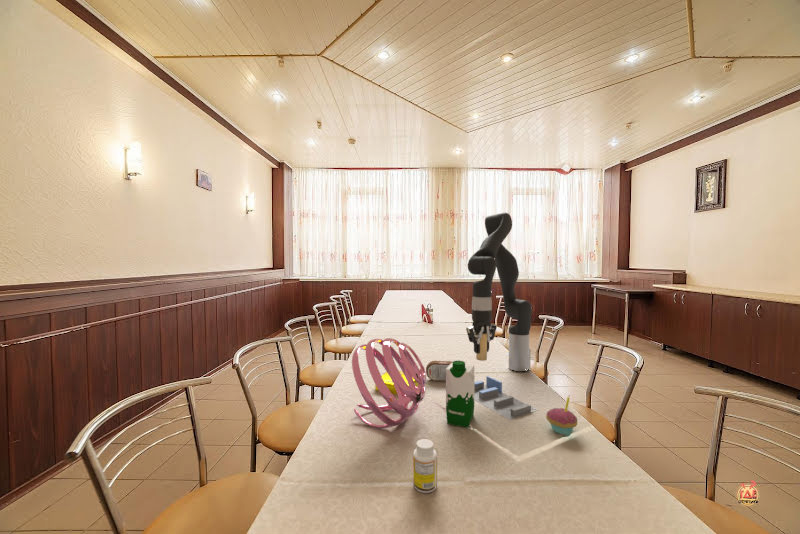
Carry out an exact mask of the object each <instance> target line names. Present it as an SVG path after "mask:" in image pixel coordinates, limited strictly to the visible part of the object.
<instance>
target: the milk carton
mask: <svg viewBox="0 0 800 534" xmlns="http://www.w3.org/2000/svg"><path fill="white" fill-rule="evenodd" d="M474 382H475V364H468V363H466V362H465V361H464V360H454V361H452V363H451V364H450V365H449V366H448V367H447V368H446V381H445V413H446V424H449V425H453V426H457V427H462V428H466V429H468V428H469V427H470V425H471V422H472V419H473V417H474V413H475V400H474Z"/></svg>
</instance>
